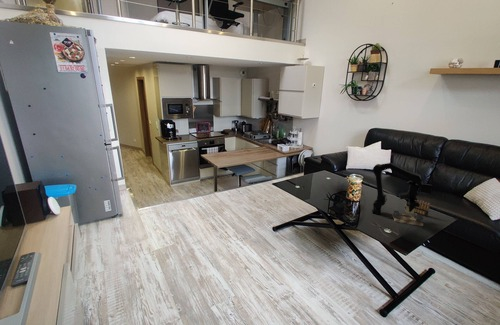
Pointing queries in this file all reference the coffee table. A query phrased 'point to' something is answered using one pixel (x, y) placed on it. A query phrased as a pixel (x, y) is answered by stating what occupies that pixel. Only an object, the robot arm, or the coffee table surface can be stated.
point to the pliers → (381, 227)
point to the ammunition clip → (420, 209)
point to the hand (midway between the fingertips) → (409, 210)
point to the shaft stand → (408, 218)
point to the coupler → (408, 209)
